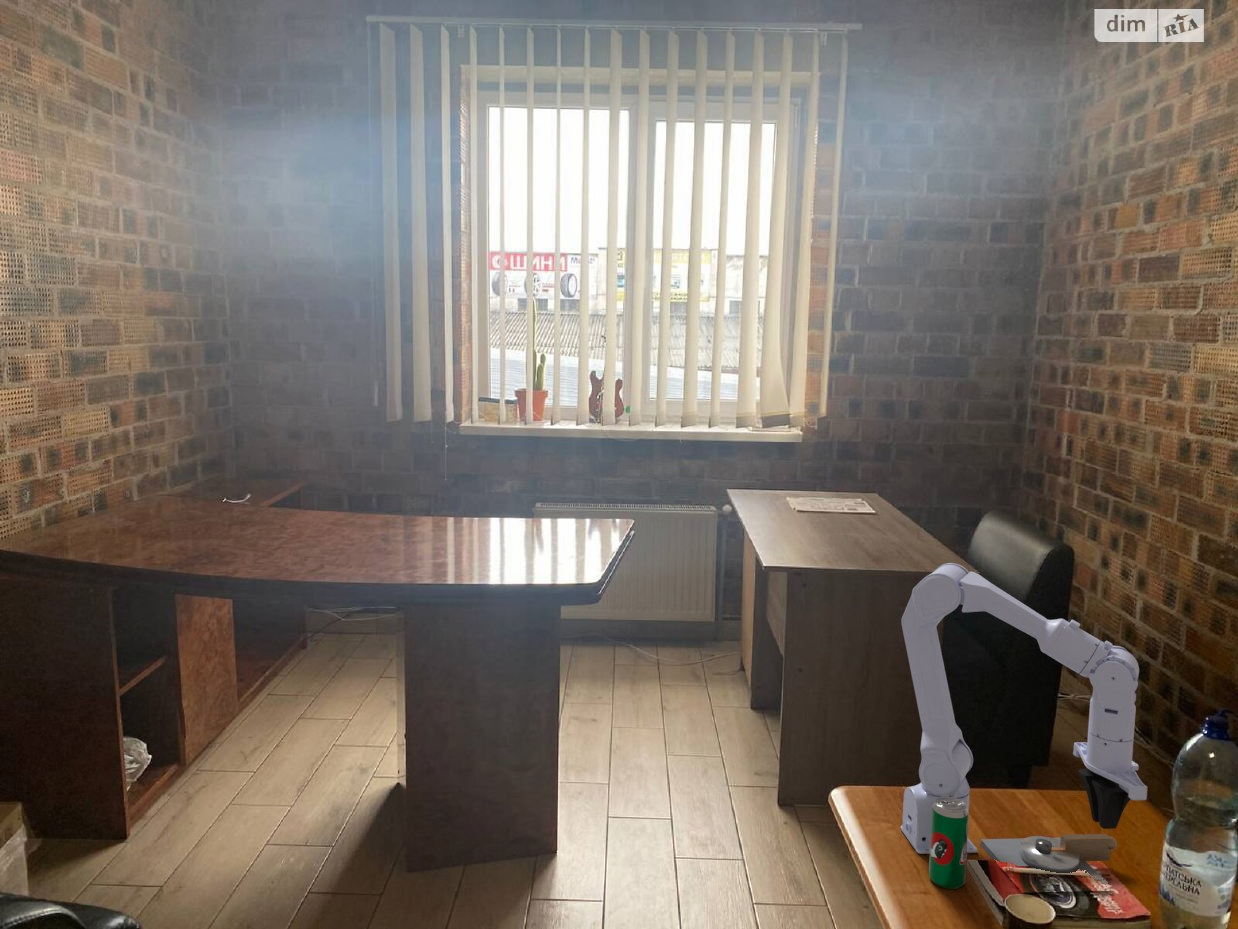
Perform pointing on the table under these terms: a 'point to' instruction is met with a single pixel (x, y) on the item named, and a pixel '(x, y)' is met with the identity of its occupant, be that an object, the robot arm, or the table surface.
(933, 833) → the soda can
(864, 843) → the table surface
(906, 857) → the table surface
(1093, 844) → the cam
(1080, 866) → the stand plate
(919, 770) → the robot arm
